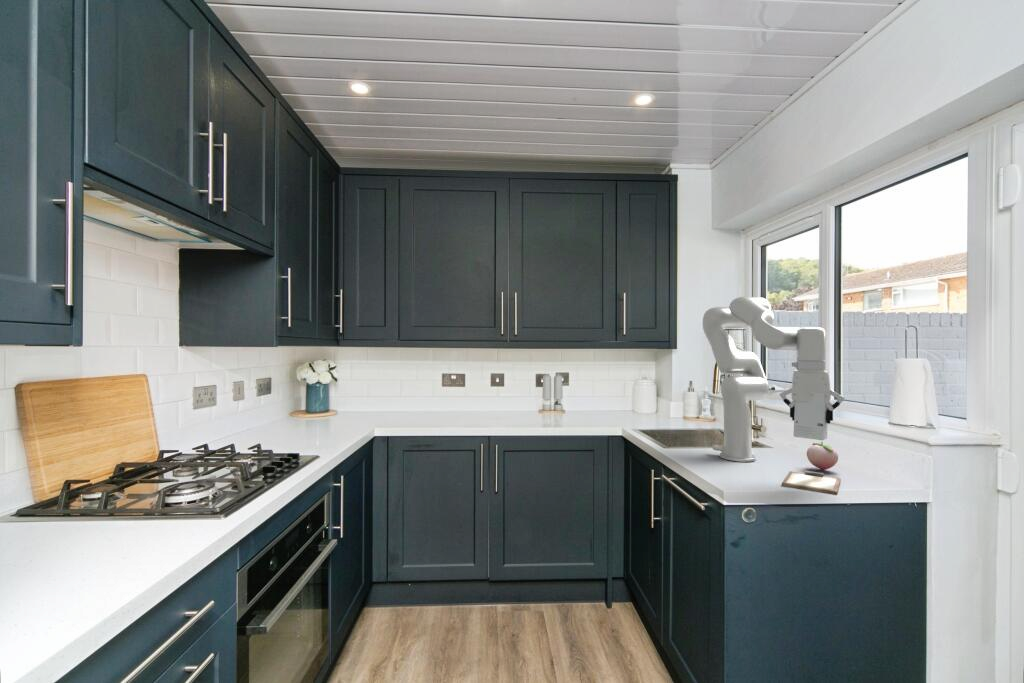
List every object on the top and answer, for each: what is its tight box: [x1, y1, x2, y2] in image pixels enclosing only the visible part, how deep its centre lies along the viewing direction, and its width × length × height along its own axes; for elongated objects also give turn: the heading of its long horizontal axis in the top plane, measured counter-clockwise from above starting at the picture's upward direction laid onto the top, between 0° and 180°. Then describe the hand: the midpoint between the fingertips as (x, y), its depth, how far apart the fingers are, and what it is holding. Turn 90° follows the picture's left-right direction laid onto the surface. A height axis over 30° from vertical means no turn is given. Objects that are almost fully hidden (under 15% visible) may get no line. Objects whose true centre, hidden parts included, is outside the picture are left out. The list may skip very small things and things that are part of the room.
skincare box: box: [793, 392, 829, 441], centre depth 146 cm, size 8×6×15 cm
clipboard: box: [781, 470, 841, 495], centre depth 146 cm, size 14×17×2 cm
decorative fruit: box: [806, 441, 839, 471], centre depth 161 cm, size 9×8×10 cm
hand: (811, 421), depth 146 cm, fingers closed on skincare box, 8 cm apart
